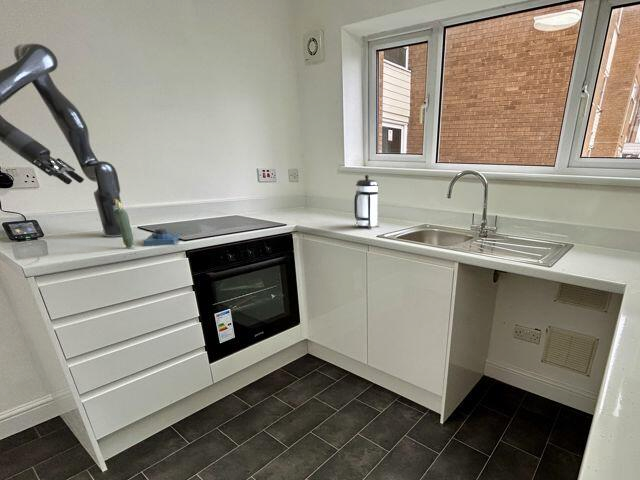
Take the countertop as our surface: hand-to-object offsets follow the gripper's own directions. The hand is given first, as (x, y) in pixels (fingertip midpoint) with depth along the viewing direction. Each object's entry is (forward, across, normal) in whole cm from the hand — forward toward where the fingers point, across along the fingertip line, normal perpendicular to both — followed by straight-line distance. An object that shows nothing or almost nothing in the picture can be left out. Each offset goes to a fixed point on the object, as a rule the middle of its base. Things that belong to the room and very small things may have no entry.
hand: (76, 181), depth 132 cm
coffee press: (+104, +40, -66) cm, 129 cm away
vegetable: (+27, 0, +10) cm, 29 cm away
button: (+30, +12, +2) cm, 33 cm away
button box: (+33, +12, +4) cm, 35 cm away
